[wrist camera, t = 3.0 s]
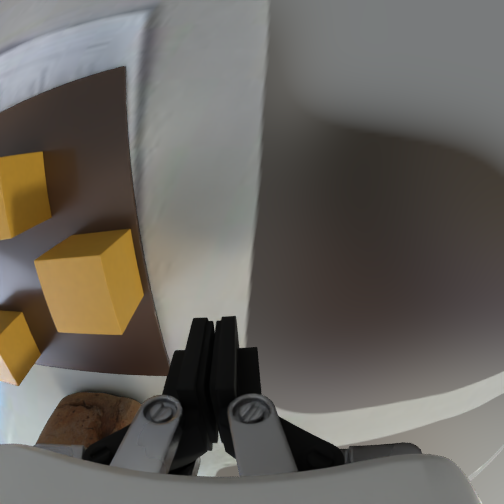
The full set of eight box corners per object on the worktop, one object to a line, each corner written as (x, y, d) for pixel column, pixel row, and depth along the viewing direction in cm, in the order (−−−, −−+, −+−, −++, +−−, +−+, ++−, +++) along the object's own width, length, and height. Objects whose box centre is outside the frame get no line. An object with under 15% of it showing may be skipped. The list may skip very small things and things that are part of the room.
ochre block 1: (1, 165, 16) (-41, 175, 11) (43, 150, 16) (-2, 157, 11) (10, 225, 18) (-29, 245, 13) (52, 217, 18) (11, 238, 13)
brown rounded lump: (92, 429, 27) (50, 562, 8) (57, 387, 24) (-10, 530, 5) (169, 429, 26) (146, 597, 7) (135, 382, 24) (81, 582, 5)
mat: (-45, 140, 14) (-47, 140, 14) (125, 66, 15) (124, 65, 15) (12, 358, 23) (11, 359, 22) (172, 373, 23) (172, 376, 23)
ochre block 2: (-7, 309, 20) (-34, 335, 16) (22, 311, 20) (-7, 340, 16) (11, 349, 22) (-11, 377, 17) (41, 354, 22) (18, 386, 17)
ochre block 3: (71, 235, 18) (33, 260, 14) (130, 228, 18) (100, 254, 14) (87, 296, 20) (57, 332, 15) (144, 295, 20) (122, 335, 15)
